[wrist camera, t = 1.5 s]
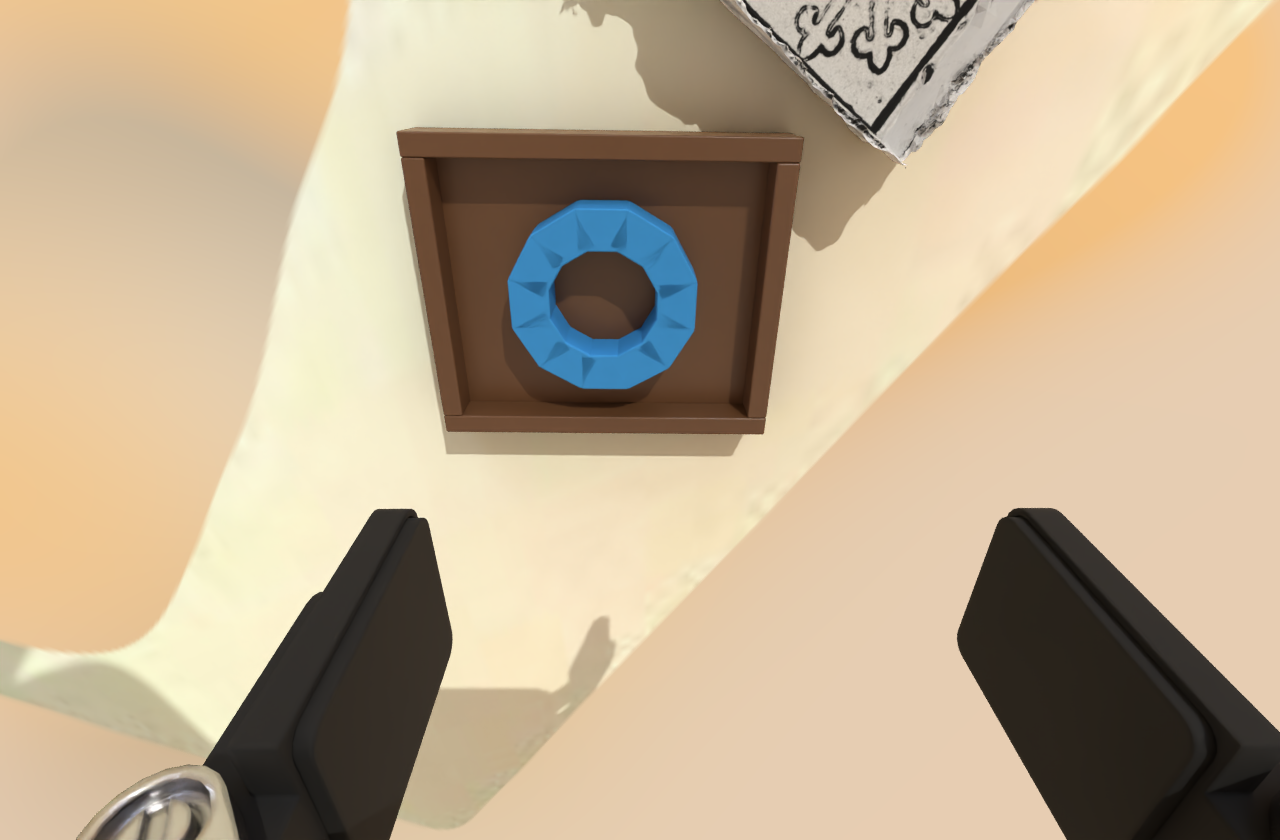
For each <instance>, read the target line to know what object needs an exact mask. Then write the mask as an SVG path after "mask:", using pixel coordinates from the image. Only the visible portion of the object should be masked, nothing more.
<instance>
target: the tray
mask: <svg viewBox="0 0 1280 840" xmlns="http://www.w3.org/2000/svg"><path fill="white" fill-rule="evenodd" d="M397 139H398V145H399V151H400V156H401V157H402V158H401V162H402V168H403V174H404V180H405V186H406V192H407V198H408V204H409V210H410V216H411V222H412V228H413V234H414V239H415V245H416V251H417V257H418V263H419V269H420V275H421V281H422V287H423V293H424V299H425V305H426V311H427V317H428V322H429V328H430V334H431V340H432V346H433V352H434V358H435V364H436V370H437V376H438V382H439V388H440V394H441V400H442V405H443V411H444V415H445V416H444V417H445V423H446V429H447V431H448V432H558V433H673V434H763V433H764V428H765V421H766V419H765V417H766V413H767V406H768V399H769V391H770V384H771V376H772V369H773V362H774V354H775V347H776V340H777V332H778V325H779V317H780V310H781V303H782V295H783V288H784V280H785V273H786V266H787V258H788V251H789V244H790V236H791V229H792V221H793V214H794V207H795V199H796V192H797V184H798V177H799V170H800V164H799V163H800V162H801V156H802V149H803V141H804V138H803V137H800V136H797V135H794V134H791V133H749V132H683V131H618V130H552V129H486V128H420V127H415V128H410V129H405V130H401V131H397ZM577 200H628V201H631V202H632V203H634V204H636V205H637V206H639V207H641V208H642V209H644V210H645V211H647V212H649V213H650V214H652V215H653V216H655V217H657V218H658V219H660V220H661V221H663V222H665V223H666V224H668V225H669V226H671V227H672V228H673V230H674V232H675V234H676V236H677V238H678V240H679V242H680V244H681V246H682V248H683V250H684V251H685V253H686V255H687V257H688V259H689V261H690V263H691V265H692V267H693V269H694V272H695V276H696V279H697V284H698V286H697V301H696V317H695V328H694V332H693V334H692V335H691V337H690V338H689V340H688V341H687V342H686V344H685V345H684V347H683V348H682V350H681V351H680V353H679V354H678V356H677V357H676V359H675V360H674V362H673V363H672V365H671V366H670V368H668V369H667V370H665V371H663V372H661V373H659V374H657V375H655V376H653V377H651V378H649V379H647V380H645V381H643V382H641V383H639V384H637V385H635V386H633V387H631V388H629V389H582V388H579V387H577V386H575V385H573V384H571V383H569V382H568V381H566V380H564V379H562V378H560V377H558V376H556V375H554V374H552V373H550V372H548V371H546V370H544V369H542V368H541V367H539V366H538V364H537V363H536V362H535V360H534V359H533V357H532V356H531V355H530V353H529V352H528V350H527V349H526V347H525V346H524V345H523V343H522V342H521V340H520V339H519V338H518V336H517V335H516V333H515V332H514V330H513V328H512V323H511V313H510V302H509V292H508V282H507V281H508V278H509V276H510V274H511V272H512V270H513V268H514V266H515V264H516V262H517V260H518V258H519V255H520V253H521V251H522V249H523V247H524V245H525V243H526V241H527V239H528V237H529V236H530V234H531V233H532V231H533V230H534V228H535V227H536V226H537V225H538V224H539V223H541V222H542V221H544V220H546V219H547V218H549V217H551V216H552V215H554V214H556V213H557V212H559V211H561V210H562V209H564V208H566V207H567V206H569V205H570V204H572V203H574V202H575V201H577ZM555 298H556V305H557V307H558V308H559V310H560V311H561V313H562V315H563V316H564V318H565V319H566V321H567V322H568V324H569V325H570V327H572V328H574V329H576V330H577V331H579V332H581V333H583V334H585V335H587V336H588V337H590V338H592V339H620V338H622V337H624V336H626V335H627V334H629V333H631V332H633V331H635V330H637V329H639V328H641V327H642V325H643V323H644V322H645V320H646V319H647V317H648V315H649V314H650V312H651V311H652V309H653V308H654V306H655V288H654V286H653V285H652V283H651V281H650V279H649V277H648V276H647V274H646V272H645V270H644V269H643V267H642V266H640V265H638V264H637V263H635V262H633V261H632V260H630V259H628V258H626V257H625V256H623V255H621V254H620V253H618V252H586V253H584V254H583V255H581V256H579V257H577V258H576V259H574V260H572V261H570V262H569V263H567V264H565V265H564V266H562V268H561V269H560V271H559V273H558V275H557V277H556V279H555Z"/></svg>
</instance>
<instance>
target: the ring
mask: <svg viewBox="0 0 1280 840" xmlns="http://www.w3.org/2000/svg"><path fill="white" fill-rule="evenodd" d="M586 252H618V253H620V254H621V255H623V256H625V257H626V258H628V259H630V260H632V261H633V262H635V263H637V264H638V265H640V266H642V267H643V269H644V270H645V272H646V274H647V276H648V277H649V279H650V281H651V283H652V285H653V286H654V288H655V306H654V308H653V309H652V311H651V312H650V314H649V315H648V317H647V319H646V320H645V322H644V323H643V325H642V327H641V328H639V329H637V330H635V331H633V332H631V333H629V334H627V335H626V336H624V337H622V338H620V339H592V338H590V337H588V336H587V335H585V334H583V333H581V332H579V331H577V330H576V329H574V328H572V327H570V325H569V324H568V322H567V321H566V319H565V318H564V316H563V315H562V313H561V311H560V310H559V308H558V307H557V305H556V298H555V279H556V277H557V275H558V273H559V271H560V269H561V268H562V266H564V265H565V264H567V263H569V262H570V261H572V260H574V259H576V258H577V257H579V256H581V255H583V254H584V253H586ZM507 282H508V292H509V302H510V313H511V323H512V328H513V330H514V332H515V333H516V335H517V336H518V338H519V339H520V340H521V342H522V343H523V345H524V346H525V347H526V349H527V350H528V352H529V353H530V355H531V356H532V357H533V359H534V360H535V362H536V363H537V364H538V366H539V367H541V368H542V369H544V370H546V371H548V372H550V373H552V374H554V375H556V376H558V377H560V378H562V379H564V380H566V381H568V382H569V383H571V384H573V385H575V386H577V387H579V388H582V389H629V388H631V387H633V386H635V385H637V384H639V383H641V382H643V381H645V380H647V379H649V378H651V377H653V376H655V375H657V374H659V373H661V372H663V371H665V370H667V369H668V368H670V366H671V365H672V363H673V362H674V360H675V359H676V357H677V356H678V354H679V353H680V351H681V350H682V348H683V347H684V345H685V344H686V342H687V341H688V340H689V338H690V337H691V335H692V334H693V332H694V328H695V317H696V301H697V286H698V284H697V279H696V276H695V272H694V269H693V267H692V265H691V263H690V261H689V259H688V257H687V255H686V253H685V251H684V250H683V248H682V246H681V244H680V242H679V240H678V238H677V236H676V234H675V232H674V230H673V228H672V227H671V226H669V225H668V224H666V223H665V222H663V221H661V220H660V219H658V218H657V217H655V216H653V215H652V214H650V213H649V212H647V211H645V210H644V209H642V208H641V207H639V206H637V205H636V204H634V203H632V202H631V201H628V200H577V201H575V202H574V203H572V204H570V205H569V206H567V207H566V208H564V209H562V210H561V211H559V212H557V213H556V214H554V215H552V216H551V217H549V218H547V219H546V220H544V221H542V222H541V223H539V224H538V225H537V226H536V227H535V228H534V230H533V231H532V233H531V234H530V236H529V237H528V239H527V241H526V243H525V245H524V247H523V249H522V251H521V253H520V255H519V258H518V260H517V262H516V264H515V266H514V268H513V270H512V272H511V274H510V276H509V278H508V281H507Z"/></svg>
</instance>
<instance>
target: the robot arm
mask: <svg viewBox="0 0 1280 840" xmlns="http://www.w3.org/2000/svg"><path fill="white" fill-rule="evenodd" d="M957 642H958V646H959V650H960V652H961V655H962V657H963V659H964V660H965V662H966V664H967V666H968V667H969V669H970V671H971V673H972V674H973V676H974V678H975V679H976V681H977V683H978V685H979V686H980V688H981V690H982V692H983V694H984V695H985V697H986V699H987V700H988V702H989V704H990V706H991V708H992V709H993V711H994V713H995V715H996V716H997V718H998V720H999V721H1000V723H1001V725H1002V727H1003V729H1004V730H1005V732H1006V734H1007V736H1008V737H1009V739H1010V741H1011V743H1012V745H1013V746H1014V748H1015V750H1016V752H1017V753H1018V755H1019V757H1020V759H1021V760H1022V762H1023V764H1024V766H1025V767H1026V769H1027V771H1028V773H1029V774H1030V776H1031V778H1032V779H1033V781H1034V783H1035V785H1036V786H1037V788H1038V790H1039V792H1040V794H1041V795H1042V797H1043V799H1044V801H1045V802H1046V804H1047V806H1048V808H1049V809H1050V811H1051V813H1052V815H1053V816H1054V818H1055V820H1056V821H1057V823H1058V825H1059V827H1060V829H1061V830H1062V832H1063V834H1064V835H1065V837H1066V839H1067V840H1280V732H1279V731H1278V730H1277V729H1276V728H1275V727H1274V726H1273V725H1272V724H1271V723H1270V722H1269V721H1268V720H1267V719H1266V718H1265V717H1264V716H1263V715H1262V714H1261V713H1260V712H1259V711H1258V710H1257V709H1256V708H1255V707H1254V706H1253V705H1252V704H1251V703H1250V702H1249V701H1248V700H1247V699H1246V698H1245V697H1244V696H1243V695H1242V694H1241V693H1240V692H1239V691H1238V690H1237V689H1236V688H1235V687H1234V686H1233V685H1232V684H1231V683H1230V682H1229V681H1228V680H1227V679H1226V678H1225V677H1224V676H1223V675H1222V674H1221V673H1220V672H1219V671H1218V670H1217V669H1216V668H1215V667H1214V666H1213V665H1212V664H1211V663H1210V662H1209V661H1208V660H1207V659H1206V658H1205V657H1204V656H1203V655H1202V654H1201V653H1200V652H1199V651H1198V650H1197V649H1196V648H1195V647H1194V646H1193V645H1192V644H1191V643H1190V642H1189V641H1188V640H1187V639H1186V638H1185V637H1184V636H1183V635H1182V634H1181V633H1180V632H1179V631H1178V630H1177V629H1176V628H1175V627H1174V626H1173V625H1172V624H1171V623H1170V622H1169V621H1168V620H1167V619H1166V618H1165V617H1164V616H1163V615H1162V614H1161V613H1160V612H1159V611H1158V610H1157V609H1156V608H1155V607H1154V606H1153V605H1152V604H1151V603H1150V602H1149V601H1148V600H1147V598H1145V597H1144V595H1143V594H1142V593H1140V591H1138V589H1137V588H1136V587H1135V586H1134V585H1133V584H1132V583H1130V581H1128V579H1126V577H1125V576H1124V575H1123V574H1122V573H1121V572H1120V571H1118V570H1117V568H1115V566H1114V565H1113V564H1112V563H1111V562H1110V561H1109V560H1107V558H1106V557H1105V556H1104V555H1103V554H1102V553H1100V551H1099V550H1098V549H1097V548H1096V547H1095V546H1094V545H1093V544H1092V543H1091V542H1090V541H1089V540H1088V539H1087V538H1086V537H1085V536H1084V535H1083V534H1082V533H1081V532H1080V531H1079V530H1078V529H1077V528H1076V527H1075V526H1074V525H1073V524H1072V523H1071V522H1070V521H1069V520H1068V519H1067V518H1066V517H1065V516H1064V515H1063V514H1062V513H1060V512H1059V511H1057V510H1056V509H1052V508H1017V509H1013V510H1012V511H1011V512H1009V514H1008V516H1007V517H1004V518H1002V519H1001V520H999V522H998V524H997V527H996V529H995V532H994V535H993V538H992V540H991V543H990V545H989V548H988V551H987V554H986V557H985V559H984V562H983V565H982V567H981V570H980V573H979V575H978V578H977V581H976V584H975V586H974V589H973V592H972V594H971V597H970V600H969V603H968V605H967V608H966V611H965V613H964V616H963V619H962V622H961V624H960V627H959V630H958V634H957ZM451 649H452V630H451V625H450V621H449V616H448V611H447V607H446V602H445V598H444V593H443V588H442V584H441V579H440V574H439V570H438V565H437V561H436V556H435V551H434V547H433V542H432V537H431V533H430V528H429V524H428V521H427V520H426V519H425V518H418V517H417V514H416V512H415V511H414V510H412V509H377V510H375V511H374V512H373V513H372V514H371V516H370V517H369V519H368V521H367V522H366V524H365V525H364V527H363V529H362V530H361V532H360V533H359V535H358V537H357V538H356V540H355V541H354V543H353V545H352V546H351V548H350V549H349V551H348V553H347V554H346V556H345V557H344V559H343V561H342V562H341V564H340V565H339V567H338V569H337V570H336V572H335V573H334V575H333V577H332V578H331V580H330V581H329V583H328V585H327V586H326V588H325V589H324V591H323V592H319V593H317V594H316V595H314V596H313V597H312V598H311V599H310V600H309V601H308V603H307V604H306V605H305V607H304V608H303V610H302V611H301V613H300V615H299V616H298V618H297V619H296V621H295V622H294V624H293V625H292V627H291V629H290V630H289V632H288V633H287V635H286V636H285V638H284V639H283V641H282V643H281V644H280V646H279V647H278V649H277V650H276V652H275V654H274V655H273V657H272V658H271V660H270V661H269V663H268V664H267V666H266V668H265V669H264V671H263V672H262V674H261V675H260V677H259V678H258V680H257V682H256V683H255V685H254V686H253V688H252V689H251V691H250V692H249V694H248V696H247V697H246V699H245V700H244V702H243V703H242V705H241V706H240V708H239V710H238V711H237V713H236V714H235V716H234V717H233V719H232V721H231V722H230V724H229V725H228V727H227V728H226V730H225V731H224V733H223V735H222V736H221V738H220V739H219V741H218V742H217V744H216V745H215V747H214V749H213V750H212V752H211V753H210V755H209V756H208V758H207V759H206V761H205V763H204V764H203V766H198V765H184V766H180V767H174V768H169V769H165V770H163V771H161V772H158V773H156V774H154V775H151V776H149V777H146V778H144V779H142V780H141V781H139V782H137V783H136V784H134V785H133V786H131V787H130V788H128V789H127V790H125V791H123V792H122V793H120V794H119V795H118V796H116V797H115V798H114V799H113V800H112V801H111V802H109V803H108V804H107V805H106V806H105V807H104V808H103V809H101V810H100V811H99V812H98V813H97V814H96V815H95V816H94V817H93V818H92V820H91V821H90V822H89V823H88V825H87V826H86V827H85V828H84V830H83V831H82V832H81V833H80V834H79V835H78V837H77V839H76V840H389V839H390V836H391V833H392V830H393V827H394V824H395V821H396V818H397V815H398V812H399V809H400V806H401V803H402V800H403V797H404V794H405V791H406V788H407V785H408V782H409V779H410V776H411V773H412V770H413V767H414V763H415V760H416V757H417V754H418V751H419V748H420V745H421V742H422V739H423V736H424V733H425V730H426V727H427V724H428V721H429V718H430V715H431V712H432V709H433V706H434V703H435V700H436V697H437V694H438V691H439V688H440V685H441V682H442V679H443V676H444V673H445V670H446V667H447V664H448V661H449V658H450V654H451Z"/></svg>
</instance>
